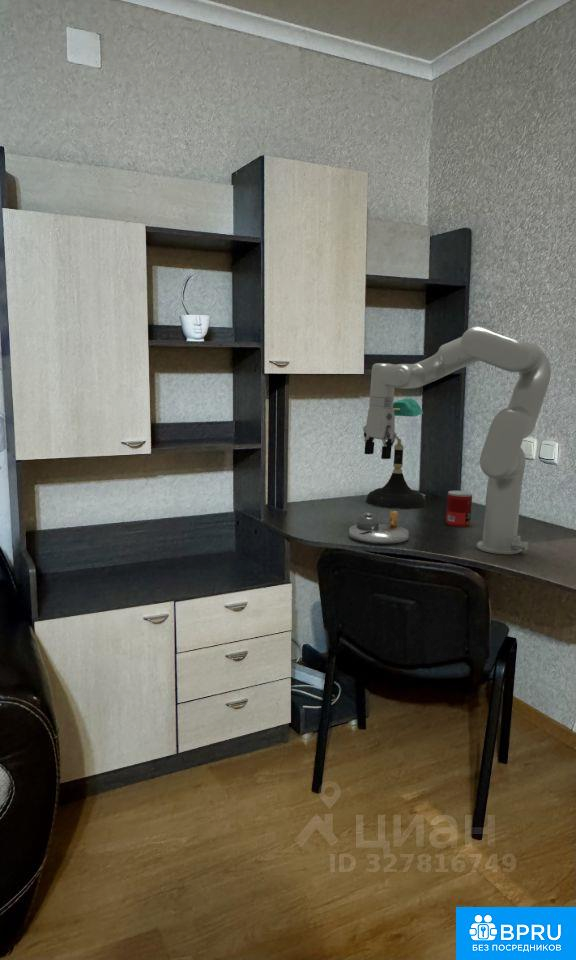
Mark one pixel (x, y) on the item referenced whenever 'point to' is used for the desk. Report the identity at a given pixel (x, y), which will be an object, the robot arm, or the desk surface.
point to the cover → (367, 521)
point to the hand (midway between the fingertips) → (377, 456)
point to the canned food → (459, 508)
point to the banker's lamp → (399, 471)
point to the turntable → (381, 532)
